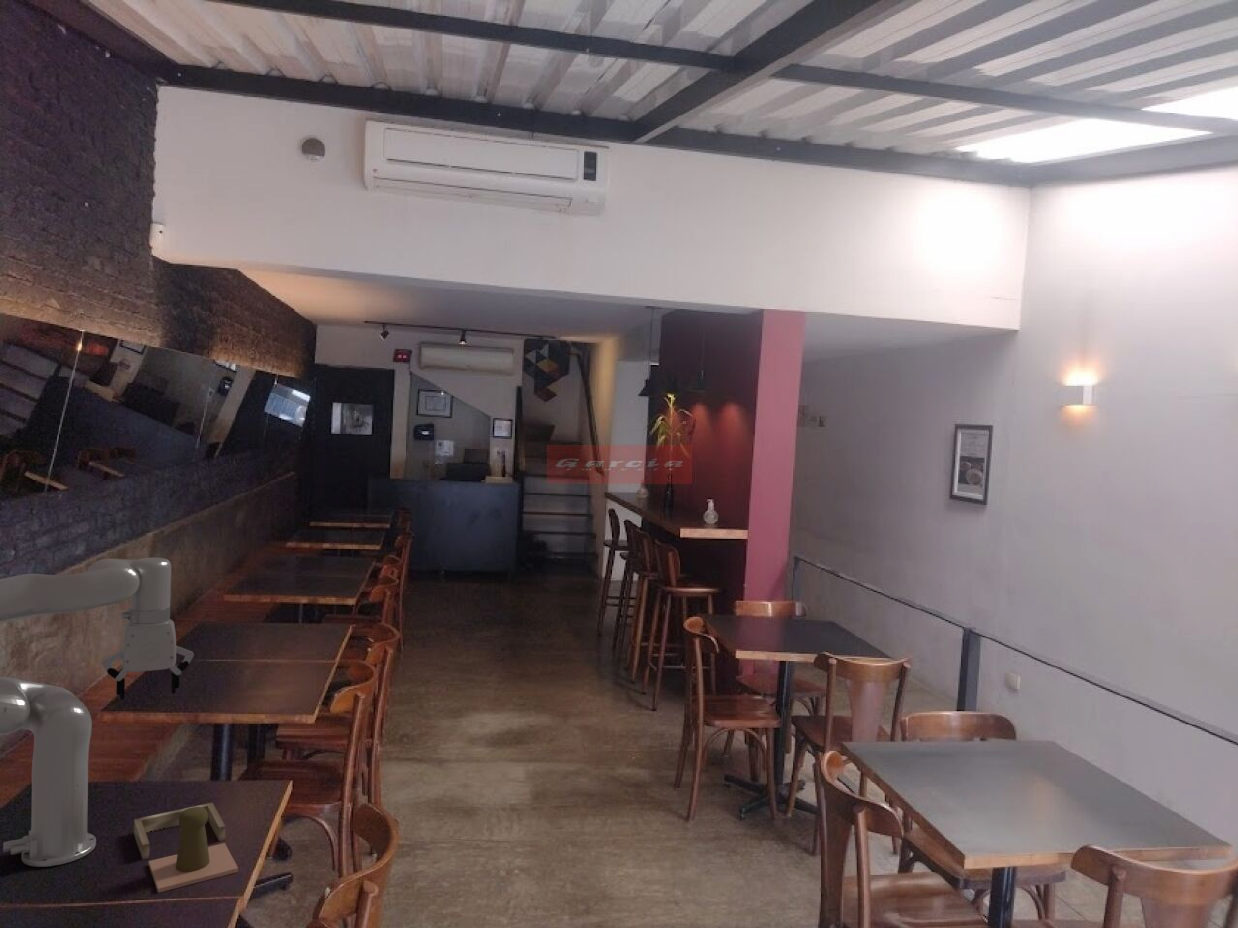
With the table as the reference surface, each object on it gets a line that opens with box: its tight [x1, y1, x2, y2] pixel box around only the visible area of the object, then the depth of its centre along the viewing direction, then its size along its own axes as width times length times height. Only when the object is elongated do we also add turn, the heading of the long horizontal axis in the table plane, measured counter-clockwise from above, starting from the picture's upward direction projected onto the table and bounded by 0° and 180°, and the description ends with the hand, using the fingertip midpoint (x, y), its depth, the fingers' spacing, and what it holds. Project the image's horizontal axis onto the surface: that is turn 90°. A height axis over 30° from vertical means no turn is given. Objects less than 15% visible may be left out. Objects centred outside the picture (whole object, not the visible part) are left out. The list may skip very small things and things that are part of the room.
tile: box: [148, 842, 239, 894], centre depth 167 cm, size 14×12×1 cm
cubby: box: [133, 802, 226, 861], centre depth 180 cm, size 15×13×3 cm
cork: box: [176, 806, 210, 872], centre depth 167 cm, size 6×6×11 cm
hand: (147, 694), depth 182 cm, fingers open, 9 cm apart
